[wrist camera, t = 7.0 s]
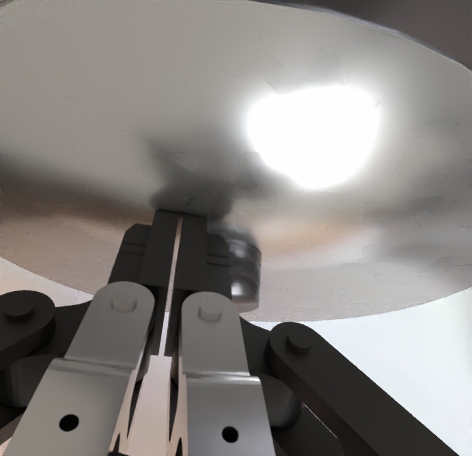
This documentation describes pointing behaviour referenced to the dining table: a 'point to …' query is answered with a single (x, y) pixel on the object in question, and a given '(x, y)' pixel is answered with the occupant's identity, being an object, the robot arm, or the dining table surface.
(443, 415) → the dining table surface
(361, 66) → the cooker lid
